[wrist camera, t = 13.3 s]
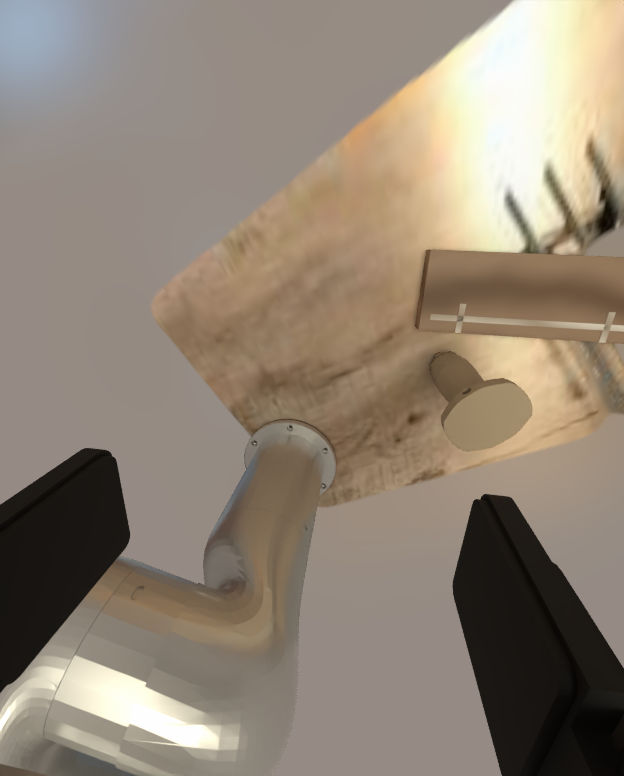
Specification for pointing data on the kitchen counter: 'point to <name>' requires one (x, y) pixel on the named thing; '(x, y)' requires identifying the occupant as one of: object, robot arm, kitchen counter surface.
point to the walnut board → (523, 295)
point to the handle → (478, 404)
